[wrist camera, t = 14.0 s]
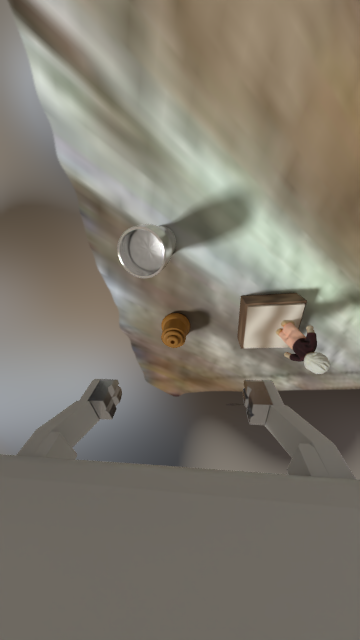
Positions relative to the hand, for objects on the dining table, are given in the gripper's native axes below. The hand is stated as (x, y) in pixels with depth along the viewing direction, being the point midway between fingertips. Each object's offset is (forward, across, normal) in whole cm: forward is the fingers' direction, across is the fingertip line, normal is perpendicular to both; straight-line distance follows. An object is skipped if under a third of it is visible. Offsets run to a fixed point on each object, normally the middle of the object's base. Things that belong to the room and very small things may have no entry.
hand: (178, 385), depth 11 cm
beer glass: (+31, +6, -6) cm, 32 cm away
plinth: (+31, -17, +13) cm, 38 cm away
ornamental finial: (+31, +5, +14) cm, 35 cm away
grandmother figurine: (+26, -20, +12) cm, 35 cm away
